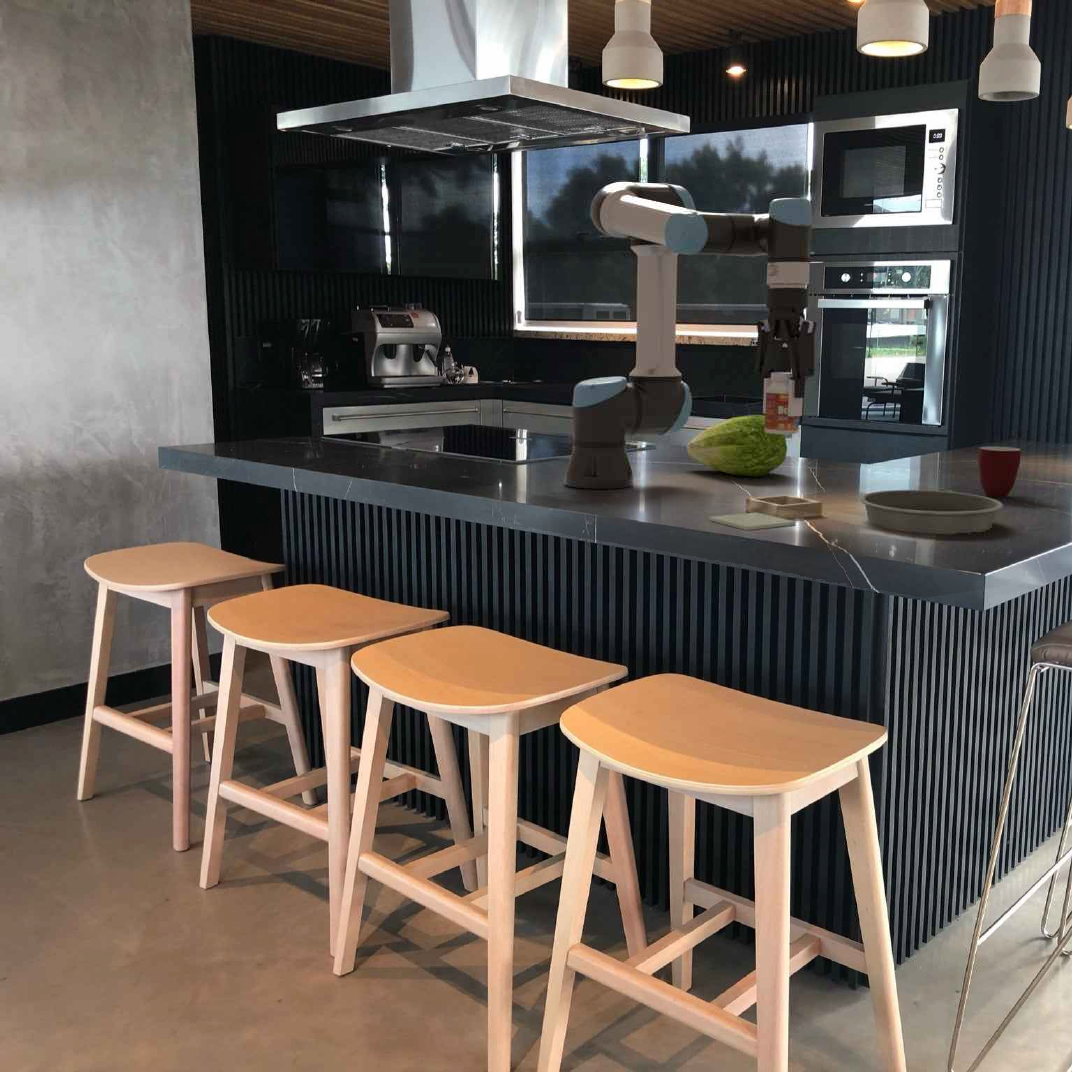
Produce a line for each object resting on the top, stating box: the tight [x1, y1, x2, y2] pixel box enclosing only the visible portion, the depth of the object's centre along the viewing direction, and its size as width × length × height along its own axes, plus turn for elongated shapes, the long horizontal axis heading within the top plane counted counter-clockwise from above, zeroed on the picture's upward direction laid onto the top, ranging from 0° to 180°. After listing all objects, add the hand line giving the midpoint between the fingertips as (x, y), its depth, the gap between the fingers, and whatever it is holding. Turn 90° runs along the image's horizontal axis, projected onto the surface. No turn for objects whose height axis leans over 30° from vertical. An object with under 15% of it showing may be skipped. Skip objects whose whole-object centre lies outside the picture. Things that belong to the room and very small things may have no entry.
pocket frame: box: [745, 494, 823, 520], centre depth 218 cm, size 10×10×2 cm
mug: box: [977, 446, 1022, 499], centre depth 239 cm, size 11×8×10 cm
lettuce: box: [686, 414, 788, 477], centre depth 272 cm, size 17×24×14 cm
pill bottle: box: [764, 371, 800, 435], centre depth 213 cm, size 6×6×11 cm
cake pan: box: [859, 489, 1004, 535], centre depth 209 cm, size 25×25×4 cm
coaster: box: [708, 512, 796, 531], centre depth 209 cm, size 11×11×1 cm
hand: (782, 414), depth 213 cm, fingers closed on pill bottle, 6 cm apart
